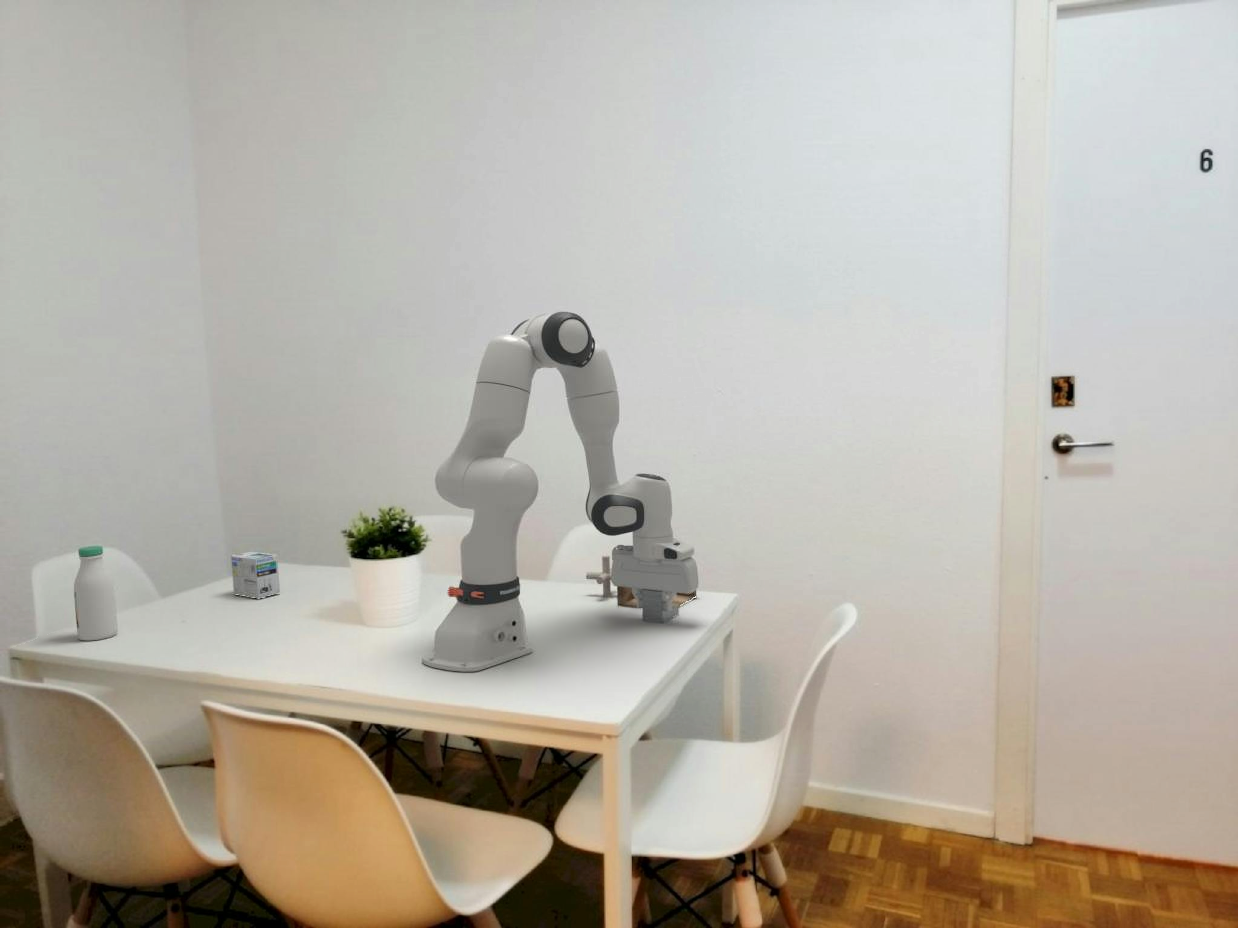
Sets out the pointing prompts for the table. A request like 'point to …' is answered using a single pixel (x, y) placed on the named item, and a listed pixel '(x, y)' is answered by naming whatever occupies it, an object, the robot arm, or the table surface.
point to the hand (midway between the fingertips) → (654, 609)
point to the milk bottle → (94, 597)
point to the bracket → (656, 606)
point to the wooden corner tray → (629, 600)
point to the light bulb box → (255, 574)
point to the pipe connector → (603, 576)
